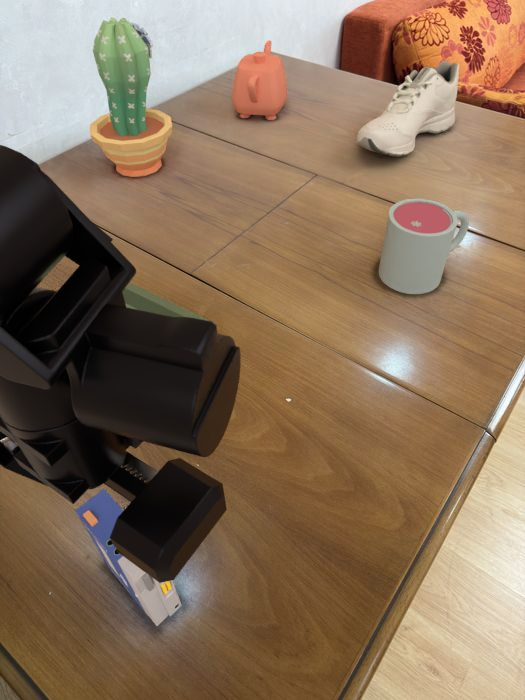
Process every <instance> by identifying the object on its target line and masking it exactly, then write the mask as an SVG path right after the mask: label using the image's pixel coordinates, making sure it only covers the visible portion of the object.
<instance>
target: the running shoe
mask: <svg viewBox="0 0 525 700" xmlns="http://www.w3.org/2000/svg"><path fill="white" fill-rule="evenodd" d="M459 74H460V63H458V62H454V63H450V62H449V61H447V60H442V61H441V62H440V63H439V64H438V65H437V67H436V68H435V67H432V66H425V67H423V68H422V69H421V70H419V72H418V71H417V70H416V69H413V70H412V71H411V72H410V74H408V75H406V76H405V77H404V82H403V83H401V84H399V85H398V87H396V90H395V92H394V93H393V95H392V97H391V99H390V100H389V102H388V104H387V105H386V107H385V108H384V110H383V112H382V113H381V115H379V116H378V117H376V118H373V119H372V120H370V121H368V122H367V123H366V124H364V125H363V126H362V127H361V128H360V129H359V131H358V133H357V137H356V142H355V144H356V145H357V146H359V147H362V148H363V149H366V150H368V151H371V152H374V153H378V154H380V155H385V156H388V157H395V158H402V157H406V156H407V157H408V155H411V154H412V153H413V151H414V149H415V147H416V137H417V136H418V135H419V134H422V133H423V134H424V133H431V134H440V133H443V132H446V131H448V130H449V129H451V128H452V127H453V126H454V125H455V122H456V105H455V104H456V101H457V96H458V87H459V80H460V77H459V76H460V75H459Z"/></svg>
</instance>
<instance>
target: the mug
mask: <svg viewBox="0 0 525 700" xmlns="http://www.w3.org/2000/svg"><path fill="white" fill-rule="evenodd" d="M459 220H460V224H459V229H458V231H457V233H456V229H457V226H458V223H459V222H458V221H459ZM469 225H470V220H469V217H468V214H467V213H466V212H465V211H463V210H460V209H459V210H458V209H457V210H452V209H451V208H450V207H448V206H447V205H445V204H443V203H442V202H438V201H436V200H433V199H428V198H407V199H402V200H400V201H397V202H396V203H394V204H393V205H392V206H391V207H390V209H389V211H388V215H387V221H386V227H385V231H384V232H385V233H384V237H383V244H382V247H381V248H382V249H381V254H380V259H379V265H378V276H379V278H380V280H381V282H383V284H385V285H386V286H387V287H388V288H390V289H392V290H394V291H395V292H396V291H397V292H399V293H402V294H407V295H424V294H428V293H431V292H432V291H434V290H435V289H437V288H438V287H439V285H440V283H441V282H442V281H441V280H442V277H443V274H444V270H445V267H446V264H447V260H448V256H449V253H451V252H453V251H454V250H455V249H456V248H457V247H458V246H459V245H460V244H461V243H462V241H463V240H464V238H465V236H466V235H467V232H468V230H469ZM455 233H456V234H455Z"/></svg>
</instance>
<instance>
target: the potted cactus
mask: <svg viewBox="0 0 525 700" xmlns="http://www.w3.org/2000/svg"><path fill="white" fill-rule="evenodd" d="M92 45H93V47H92V53H93V57H94V61H95V65H96V69H97V73H98V75H99V77H100V79H101V81H102V84H103V85H104V88H105V90H106V97H107V104H108V111H109V112H108V113H106V114H103V115H100V116H99V117H98V118H97V119H96V120H94V121H93V122H91V123H90V124H89V135H90V138H91V140H92V141H93V143H95V144H96V145H97V146H99V147H100V149H101V150H102V152H103V154H104V155H105V157H106V158H108V159H109V160H110V161H111V162H112V163H113V164H114V165H115V168H116V169H115V170H116V172H117V173H118V174H120V175H122V176H125V177H132V178H138V177H146V176H149V175H152V174H154V173H156V172H157V171H159V169H160V168H161V167H162V166H163V165H162V157H163V155H164V153H165V152H166V150H167V146H168V145H167V144H168V140H169V137H170V136H171V135H172V133H173V122H172V117H171V116H170V115H168V114H167V113H165V112H163V111H161V110H159V109H153V108H147V92H148V91H147V90H148V88H149V87H148V86H149V82H150V79H151V75H152V72H151V61H150V59H152V58H153V50H152V48H153V46H154V45H153V43H152V39H151V37H150V36H149V33H148V32H147V31H146V29H144V27H141V26H140V25H139V24H138V23H135V22H130V21H129V20H127V19H126V18H125V17H122V18H120V19H119V20H117V18H115V17H110V18H109V21H108V20H102V21H101V23H100V26H99V29H98V31H97V33H96V35H95V37H94V40H93V44H92Z"/></svg>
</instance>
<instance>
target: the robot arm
mask: <svg viewBox="0 0 525 700" xmlns="http://www.w3.org/2000/svg"><path fill="white" fill-rule="evenodd" d="M113 240H114V239H113V238H112V237H111V236H110V235H109V234H107V233H106V232H105V231H103V229H102V228H100V227H99V226H98V225H97V224H95V223H94V222H93V221H92V220H91V219H90V218H89V217H88V216H87V215H86V214H85V213H84V212H83V211H82V210H81V209H80V207H79V206H78V205H76V203H74V201H72V200H71V198H70V197H69V196H68V195H67V194H66V193H65V192H64V191H63V190H62V189H61V188H60V187H59V186H58V185H57V183H56V182H55V181H54V180H53V179H52V178H51V177H50V176H48V174H47V173H45V172H44V171H43V170H42V169H41V167H40V165H39V164H38V163H37V162H36V161H35V160H33V159H31V158H30V157H28V156H27V155H25V154H23V153H22V152H20V151H17V150H16V149H13V148H10V147H8V146H6V145H3V144H0V466H1V467H3V469H6V470H7V471H10V472H13V473H15V474H17V475H20V476H22V477H25V478H27V479H30V480H32V481H34V482H36V483H39V484H41V485H44V486H46V487H49V488H50V489H51V490H53V491H54V492H56V493H57V494H58V495H60V496H61V497H63V498H64V499H65V500H66V501H68V502H69V503H70V504H72V505H74V504H76V503H77V502H78V500H80V498H81V497H82V496H83V495H84V494H86V492H87V491H88V490H95V489H96V488H99V487H100V486H102V485H103V484H104V485H105V486H106V487H108V488H110V489H111V490H112V491H113V492H115V493H116V494H118V495H119V496H121V497H123V498H124V499H125V500H127V501H128V502H129V503H128V505H127V506H126V507H125V509H123V512H122V513H121V514H120V515H119V516H118V517H117V520H116V523H115V525H114V528H113V530H112V533H111V535H110V539H111V541H112V543H113V545H114V546H115V547H116V548H117V549H116V551H117V552H118V553H120V554H121V555H122V556H124V557H125V558H126V559H128V560H129V561H130V562H132V563H133V564H135V565H136V566H137V567H139V568H140V569H141V570H143V571H144V572H146V573H147V574H148V575H150V576H151V577H152V578H154V579H155V580H156V581H158V582H159V583H162V582H167V581H171V580H172V581H175V579H176V578H177V577H178V575H179V574H180V573H181V571H182V570H183V568H184V567H185V566H186V564H187V563H188V562H189V560H190V559H191V558H192V557H193V556H194V554H195V553H196V552H197V550H198V548H199V547H200V546H201V544H202V543H204V541H205V540H206V538H207V537H208V535H209V534H210V533H211V531H212V530H213V529H214V527H215V526H216V525H217V524H218V523H219V521H220V520H221V518H222V517H223V516H224V514H225V513H226V511H227V510H228V509H227V504H226V497H225V491H224V484H223V483H222V482H220V481H219V480H217V479H216V478H214V477H212V476H211V475H209V474H207V473H206V472H204V471H203V470H201V469H199V468H198V467H196V466H194V465H192V464H191V463H190V462H187V461H186V460H185V459H183V458H181V457H177V458H174V459H173V458H172V459H169V460H167V461H166V462H165V464H163V466H162V467H160V469H159V470H157V469H156V468H154V467H152V466H151V465H149V464H147V463H146V462H144V461H143V460H141V459H140V458H138V457H137V456H135V455H133V454H131V453H130V452H129V451H127V450H128V449H129V448H130V447H131V448H133V449H137V448H139V447H140V446H141V445H142V444H143V442H144V443H148V444H152V445H156V446H160V447H164V448H166V449H170V450H175V451H179V452H183V453H186V454H190V455H193V456H196V457H197V456H198V457H202V458H209V457H210V456H211V455H212V454H213V453H214V452H215V451H216V449H217V448H218V447H219V445H220V443H221V442H222V440H223V437H224V435H225V433H226V431H227V429H228V426H229V423H230V420H231V417H232V415H233V410H234V406H235V404H236V399H237V395H238V390H239V384H240V378H241V365H242V364H241V363H242V361H241V359H242V358H241V357H242V356H241V347H240V346H236V343H235V340H234V338H232V337H231V336H230V335H227V334H221V333H218V327H217V324H216V325H215V324H214V323H215V322H214V321H212V320H209V321H206V320H201V319H196V318H191V317H172V316H166V315H161V314H156V313H151V312H146V311H141V310H137V309H132V308H127V307H126V304H125V300H124V297H123V293H122V292H123V290H124V289H125V288H126V286H127V285H128V284H129V283H131V281H132V280H133V278H134V277H135V276H136V274H137V269H136V267H135V266H134V264H132V262H131V261H130V260H129V259H128V258H127V257H126V255H124V254H123V253H122V251H120V249H118V248H117V247H116V246H115V244H114V243H113ZM65 257H66V258H67V259H69V260H70V261H72V262H73V263H75V264H76V265H78V267H77V268H76V269H75V270H74V271H73V272H72V273H71V275H70V276H69V277H68V278H67V279H66V280H65V281H64V283H63V284H62V285H61V286H60V287H59V289H57V290H53V289H48V288H44V287H39V285H40V283H42V281H43V280H44V279H45V278H46V277H47V276H48V275H49V274H50V273H51V271H52V270H53V269H55V268H56V266H57V265H58V264H59V263H60V262H61V260H63V259H64V258H65ZM213 322H214V323H213Z"/></svg>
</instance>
